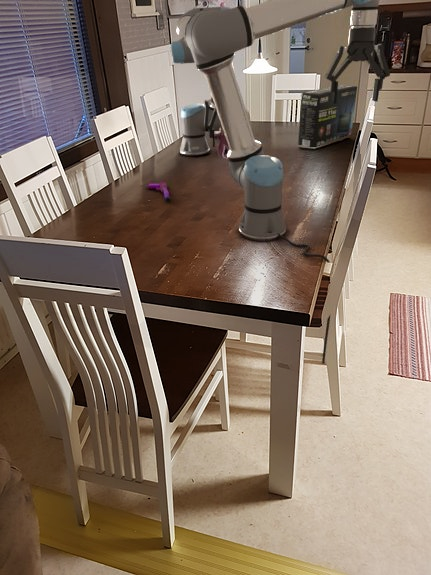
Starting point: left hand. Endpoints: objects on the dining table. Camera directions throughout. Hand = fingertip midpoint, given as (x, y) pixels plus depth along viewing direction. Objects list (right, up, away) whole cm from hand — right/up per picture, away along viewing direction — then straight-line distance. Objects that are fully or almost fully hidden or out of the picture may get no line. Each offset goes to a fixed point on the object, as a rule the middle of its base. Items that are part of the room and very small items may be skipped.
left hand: (223, 145), depth 180 cm
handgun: (-26, -18, +5) cm, 32 cm away
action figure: (0, -4, +3) cm, 5 cm away
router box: (+55, +21, +65) cm, 88 cm away
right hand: (+42, +5, -31) cm, 52 cm away
